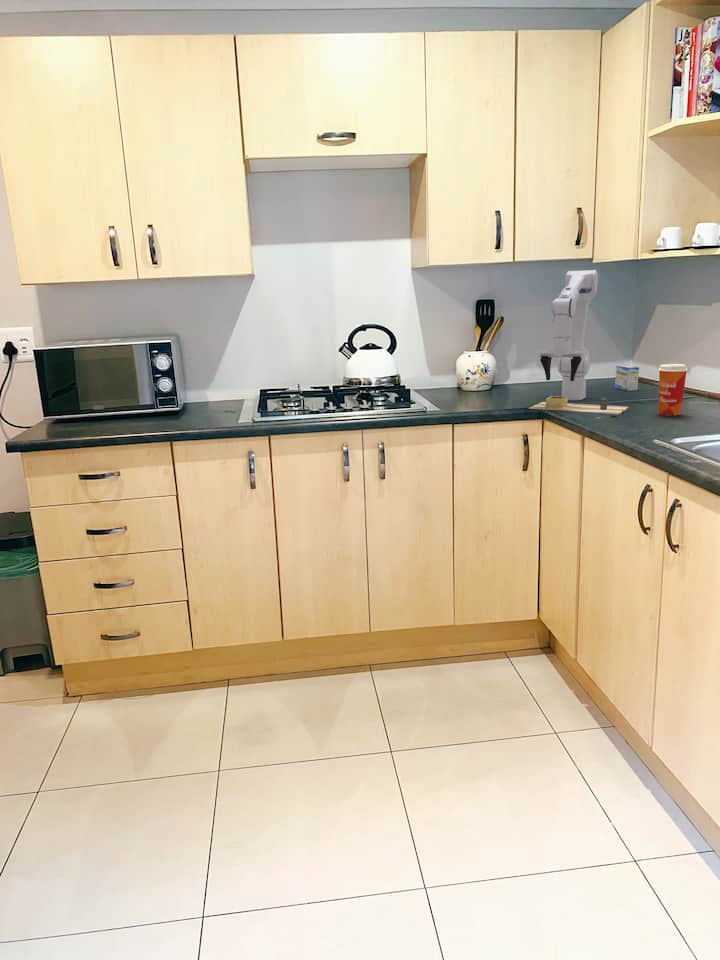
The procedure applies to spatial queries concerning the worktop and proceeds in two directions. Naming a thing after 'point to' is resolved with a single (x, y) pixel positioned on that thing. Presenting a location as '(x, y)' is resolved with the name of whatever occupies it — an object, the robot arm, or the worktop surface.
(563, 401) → the brass link
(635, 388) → the medicine box
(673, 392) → the coffee cup
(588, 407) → the keeper board
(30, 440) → the worktop surface
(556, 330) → the robot arm
